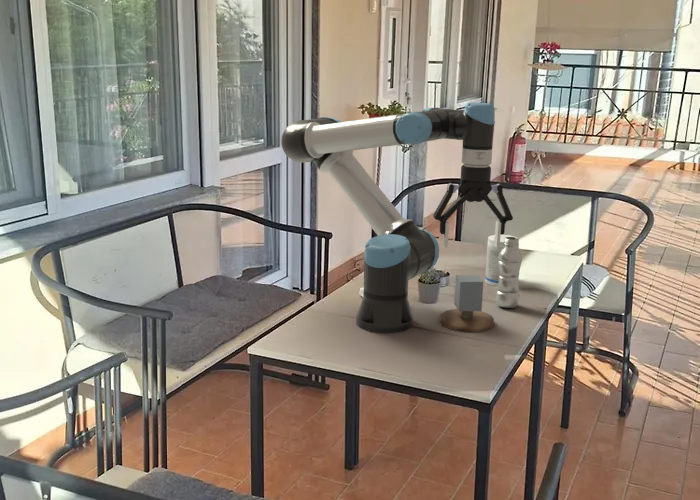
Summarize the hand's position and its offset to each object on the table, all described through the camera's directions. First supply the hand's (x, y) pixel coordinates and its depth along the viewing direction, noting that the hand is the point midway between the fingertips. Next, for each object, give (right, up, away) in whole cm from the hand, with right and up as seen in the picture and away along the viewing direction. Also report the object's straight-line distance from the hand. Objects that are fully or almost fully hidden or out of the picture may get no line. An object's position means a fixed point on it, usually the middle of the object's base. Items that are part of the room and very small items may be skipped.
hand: (471, 246), depth 205 cm
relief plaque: (-22, -16, +22) cm, 35 cm away
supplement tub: (+15, -12, +40) cm, 45 cm away
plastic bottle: (+13, -17, +19) cm, 29 cm away
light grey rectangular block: (0, -16, +4) cm, 17 cm away
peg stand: (0, -20, +5) cm, 21 cm away
